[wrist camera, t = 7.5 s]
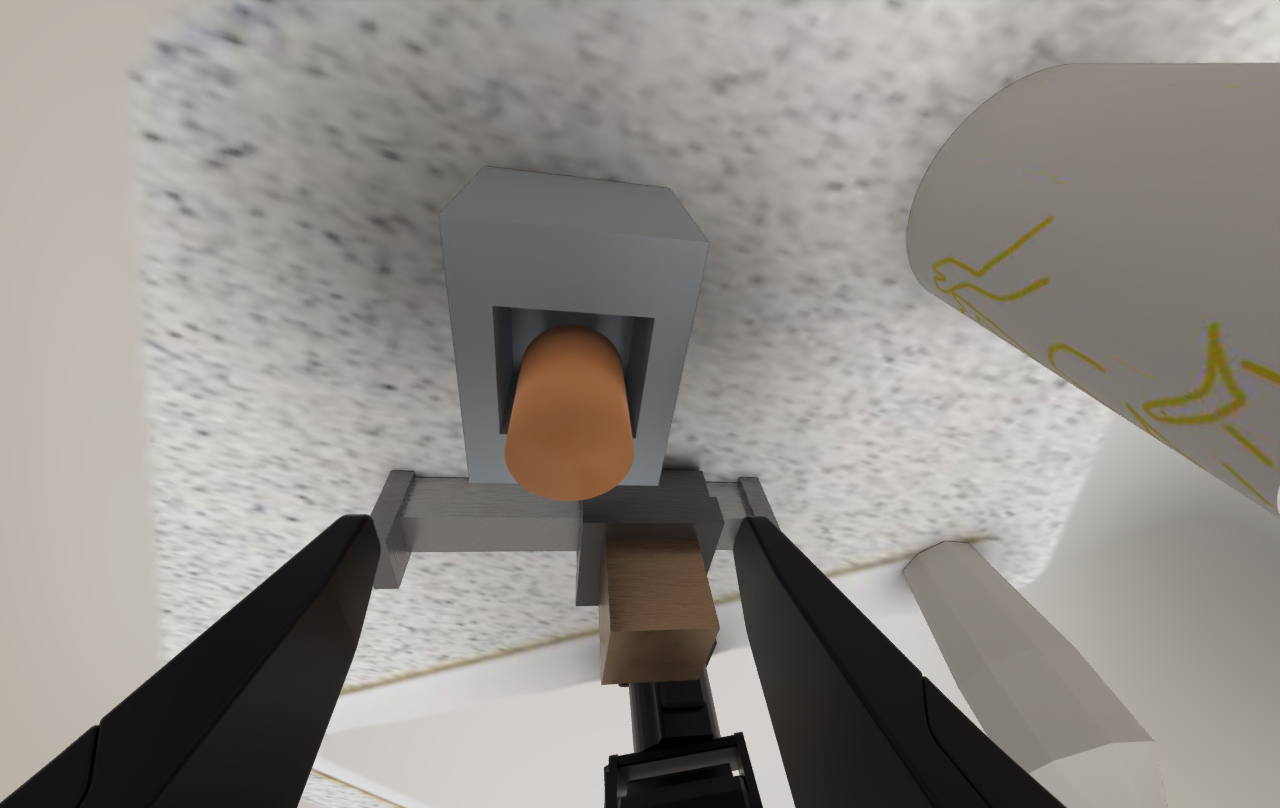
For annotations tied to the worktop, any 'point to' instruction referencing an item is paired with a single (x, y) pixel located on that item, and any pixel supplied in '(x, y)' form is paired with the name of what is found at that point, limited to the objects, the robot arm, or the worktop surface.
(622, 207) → the grey hollow block
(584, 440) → the button
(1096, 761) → the low poly bottle
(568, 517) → the rail
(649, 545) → the carriage
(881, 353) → the worktop surface
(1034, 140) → the cup
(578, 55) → the worktop surface
